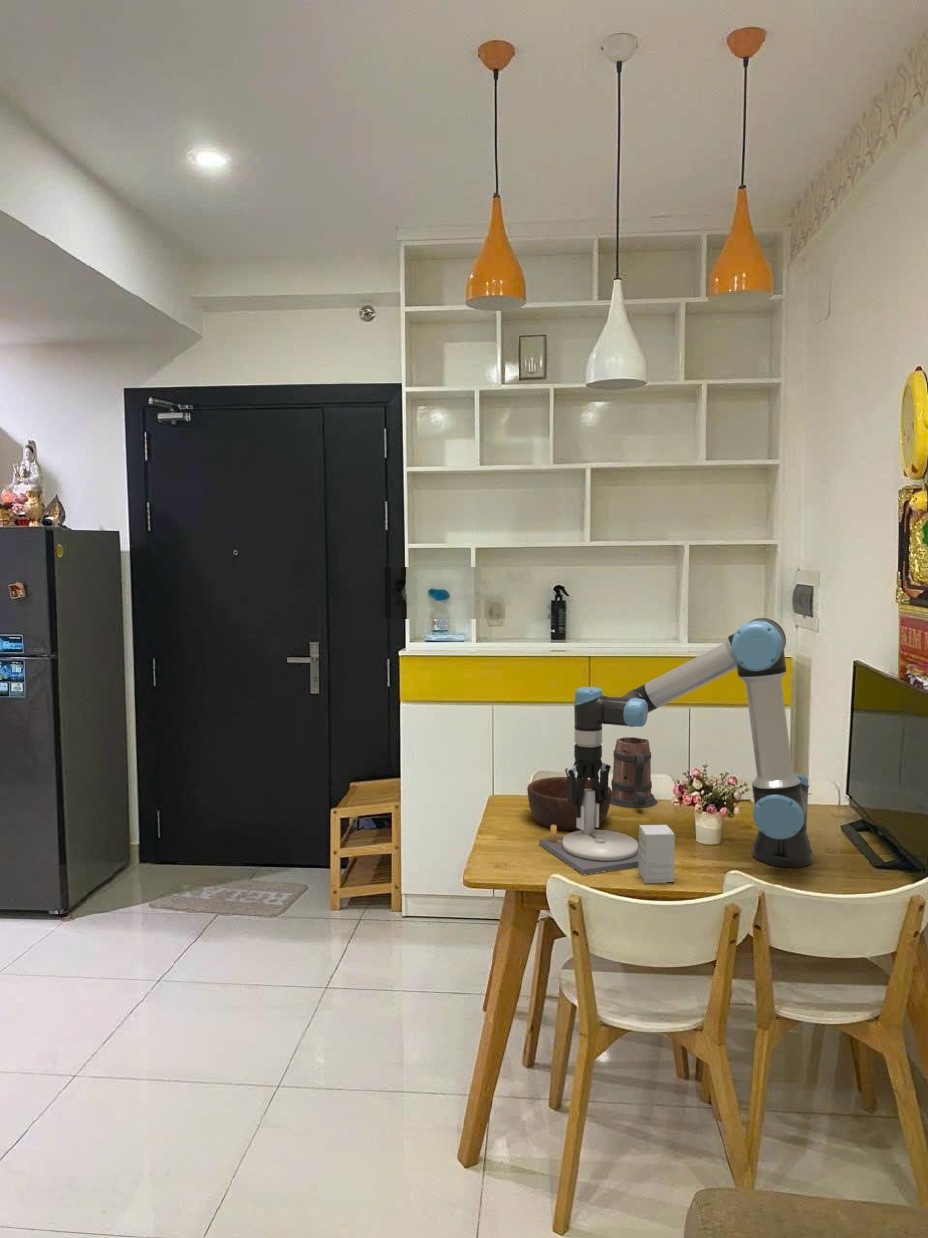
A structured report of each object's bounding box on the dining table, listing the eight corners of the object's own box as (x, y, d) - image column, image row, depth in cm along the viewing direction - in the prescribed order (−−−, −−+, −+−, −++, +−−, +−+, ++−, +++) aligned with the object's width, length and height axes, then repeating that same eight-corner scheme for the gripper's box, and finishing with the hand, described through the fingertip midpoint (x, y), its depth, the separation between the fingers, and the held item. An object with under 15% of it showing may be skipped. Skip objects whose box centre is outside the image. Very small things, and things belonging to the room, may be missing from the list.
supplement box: (666, 872, 225) (667, 824, 224) (674, 884, 217) (675, 833, 216) (637, 872, 224) (638, 824, 223) (644, 884, 217) (645, 834, 216)
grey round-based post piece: (651, 856, 231) (653, 805, 230) (582, 864, 225) (583, 812, 224) (615, 832, 250) (617, 785, 249) (550, 838, 244) (551, 791, 243)
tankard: (600, 793, 295) (601, 734, 293) (650, 793, 296) (652, 734, 294) (614, 815, 272) (615, 751, 270) (668, 815, 272) (670, 751, 271)
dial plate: (663, 863, 231) (664, 840, 231) (583, 875, 222) (583, 852, 222) (614, 834, 253) (614, 814, 253) (539, 845, 244) (539, 823, 244)
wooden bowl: (617, 835, 253) (618, 800, 253) (530, 834, 253) (530, 799, 252) (603, 808, 278) (604, 776, 277) (523, 808, 278) (524, 776, 277)
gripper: (606, 738, 249) (606, 819, 251) (554, 744, 242) (553, 827, 244) (622, 743, 242) (621, 826, 244) (568, 750, 235) (568, 836, 237)
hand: (587, 827), depth 244 cm, fingers open, 4 cm apart
